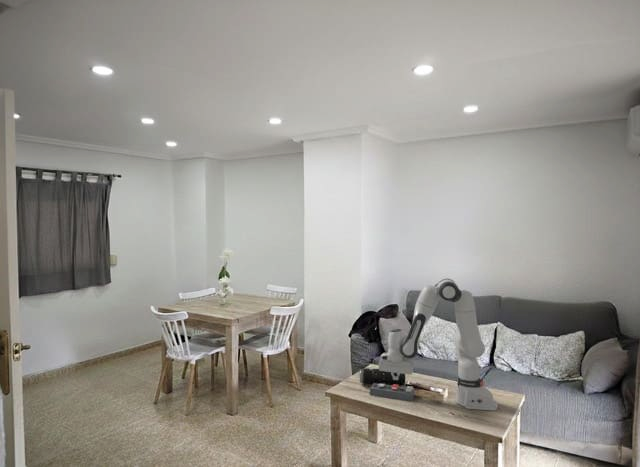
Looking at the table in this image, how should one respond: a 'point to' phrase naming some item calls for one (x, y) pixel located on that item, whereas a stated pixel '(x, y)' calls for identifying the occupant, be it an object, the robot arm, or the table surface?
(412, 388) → the rocker
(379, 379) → the muzzle brake
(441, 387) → the table surface
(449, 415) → the table surface
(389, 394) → the strip housing
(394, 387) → the rocker middle
